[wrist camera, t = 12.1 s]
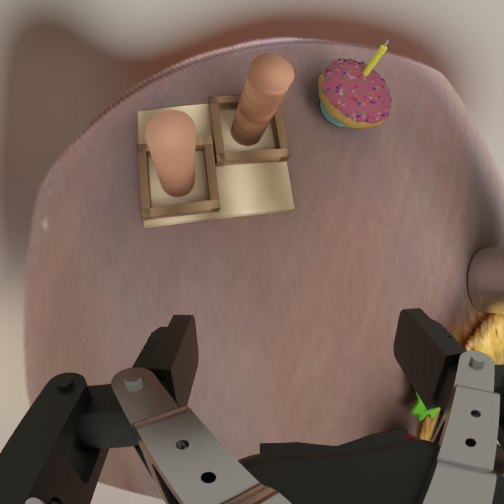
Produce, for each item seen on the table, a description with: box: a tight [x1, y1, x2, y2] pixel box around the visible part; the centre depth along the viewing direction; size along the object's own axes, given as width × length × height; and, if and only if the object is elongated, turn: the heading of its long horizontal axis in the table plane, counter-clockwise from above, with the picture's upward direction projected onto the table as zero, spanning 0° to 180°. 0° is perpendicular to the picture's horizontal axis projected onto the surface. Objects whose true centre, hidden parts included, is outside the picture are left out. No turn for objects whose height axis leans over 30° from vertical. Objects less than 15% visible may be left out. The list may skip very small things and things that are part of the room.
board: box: [137, 54, 294, 228], centre depth 26 cm, size 14×12×12 cm
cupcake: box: [318, 40, 392, 129], centre depth 29 cm, size 9×8×12 cm
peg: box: [145, 110, 196, 197], centre depth 24 cm, size 3×3×11 cm
